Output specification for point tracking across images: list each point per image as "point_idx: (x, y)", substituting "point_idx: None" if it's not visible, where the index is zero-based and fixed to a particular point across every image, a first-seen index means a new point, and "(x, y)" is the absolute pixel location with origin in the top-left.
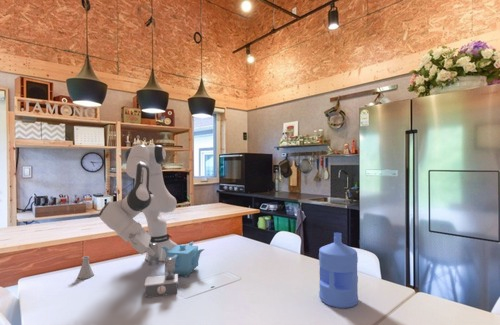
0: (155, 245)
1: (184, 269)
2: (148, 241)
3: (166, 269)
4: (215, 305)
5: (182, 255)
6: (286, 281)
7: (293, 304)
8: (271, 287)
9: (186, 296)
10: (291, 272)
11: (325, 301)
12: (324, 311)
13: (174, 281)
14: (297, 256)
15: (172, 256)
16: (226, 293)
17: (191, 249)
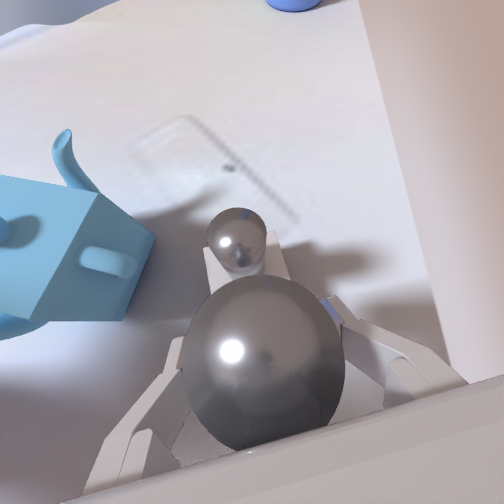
0: (316, 298)
1: (141, 241)
2: (334, 481)
3: (263, 262)
4: (330, 150)
5: (95, 223)
6: (216, 45)
7: (314, 41)
8: (242, 66)
9: (287, 220)
10: (171, 37)
11: (313, 1)
12: (334, 12)
13: (276, 241)
14: (79, 25)
15: (74, 281)
16: (269, 136)
17: (32, 188)
